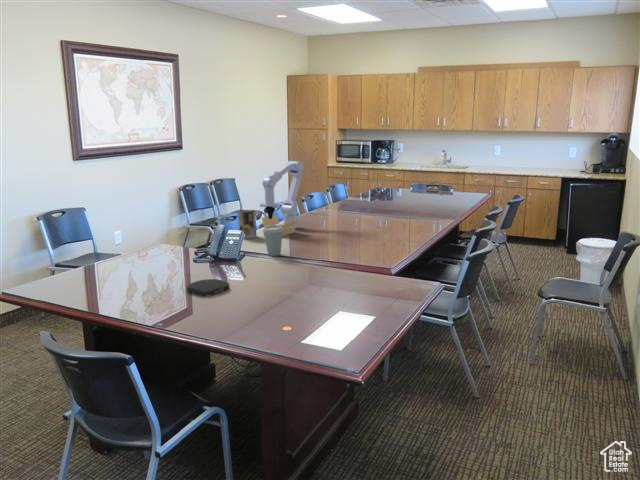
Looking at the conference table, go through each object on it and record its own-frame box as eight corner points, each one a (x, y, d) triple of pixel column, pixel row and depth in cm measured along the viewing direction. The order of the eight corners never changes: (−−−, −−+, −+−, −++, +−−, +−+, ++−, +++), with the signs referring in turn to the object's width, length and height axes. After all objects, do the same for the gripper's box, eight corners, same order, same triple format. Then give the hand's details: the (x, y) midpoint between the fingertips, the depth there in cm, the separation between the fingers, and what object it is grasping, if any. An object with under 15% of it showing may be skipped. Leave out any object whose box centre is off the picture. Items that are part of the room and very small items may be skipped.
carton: (280, 230, 339) (280, 224, 338) (295, 232, 332) (295, 226, 332) (263, 235, 325) (263, 229, 324) (278, 237, 318) (278, 231, 317)
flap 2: (294, 225, 330) (299, 218, 327) (294, 225, 330) (299, 219, 327) (279, 229, 318) (284, 222, 315) (280, 230, 318) (285, 222, 315)
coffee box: (256, 236, 323) (255, 210, 320) (254, 238, 317) (253, 212, 314) (242, 236, 324) (241, 210, 321) (239, 238, 318) (238, 211, 314)
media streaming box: (211, 283, 232) (210, 276, 231) (233, 289, 222) (232, 282, 222) (183, 291, 221) (182, 284, 220) (205, 298, 211) (205, 291, 211)
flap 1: (278, 223, 337) (276, 214, 336) (279, 223, 337) (277, 214, 336) (264, 227, 325) (262, 218, 324) (264, 227, 325) (262, 217, 324)
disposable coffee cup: (280, 257, 272) (279, 228, 269) (260, 256, 274) (259, 228, 271) (286, 252, 282) (285, 224, 279) (267, 251, 284) (265, 224, 281)
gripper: (256, 197, 328) (257, 218, 331) (275, 198, 320) (275, 220, 323) (263, 195, 334) (264, 217, 337) (281, 197, 326) (282, 219, 329)
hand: (270, 218), depth 330 cm, fingers closed, pressing on flap 1
